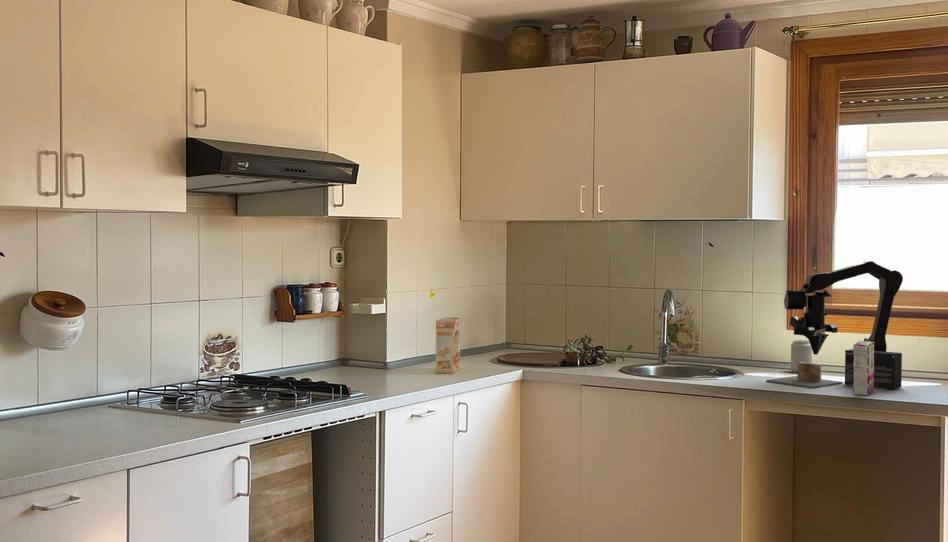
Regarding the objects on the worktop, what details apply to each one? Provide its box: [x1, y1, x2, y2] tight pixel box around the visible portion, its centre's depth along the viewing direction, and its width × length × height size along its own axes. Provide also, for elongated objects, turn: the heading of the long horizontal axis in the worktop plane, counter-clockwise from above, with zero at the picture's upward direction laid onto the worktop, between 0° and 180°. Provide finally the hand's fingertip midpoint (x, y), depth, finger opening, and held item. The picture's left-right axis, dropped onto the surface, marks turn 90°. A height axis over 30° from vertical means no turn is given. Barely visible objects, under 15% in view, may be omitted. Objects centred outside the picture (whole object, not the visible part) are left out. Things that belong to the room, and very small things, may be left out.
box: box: [844, 348, 903, 390], centre depth 317 cm, size 17×7×12 cm, turn 48°
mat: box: [765, 375, 843, 389], centre depth 324 cm, size 18×18×1 cm
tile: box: [797, 362, 822, 382], centre depth 325 cm, size 8×2×6 cm, turn 38°
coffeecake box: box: [435, 316, 462, 375], centre depth 346 cm, size 15×7×20 cm, turn 171°
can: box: [790, 339, 813, 374], centre depth 351 cm, size 8×8×12 cm
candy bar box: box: [852, 340, 875, 397], centre depth 303 cm, size 11×5×16 cm, turn 149°
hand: (815, 354), depth 326 cm, fingers closed
